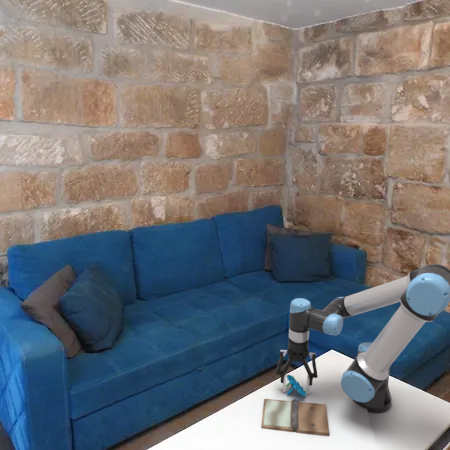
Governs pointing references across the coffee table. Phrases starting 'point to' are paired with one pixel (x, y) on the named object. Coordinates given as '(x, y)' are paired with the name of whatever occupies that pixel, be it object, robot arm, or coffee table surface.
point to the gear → (295, 386)
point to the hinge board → (295, 417)
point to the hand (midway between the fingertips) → (295, 390)
